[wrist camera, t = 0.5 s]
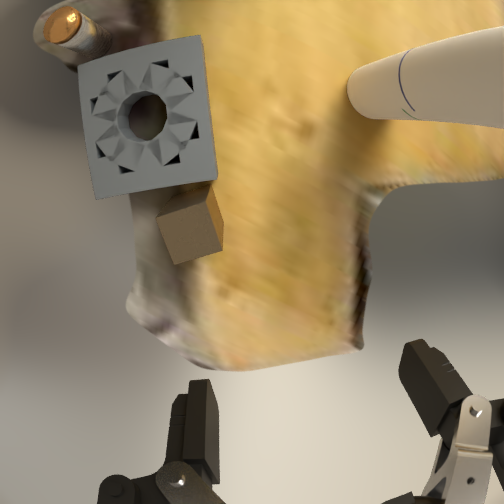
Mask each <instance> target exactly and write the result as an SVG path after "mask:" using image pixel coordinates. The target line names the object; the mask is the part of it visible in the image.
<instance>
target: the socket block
mask: <svg viewBox="0 0 504 504" xmlns="http://www.w3.org/2000/svg"><path fill="white" fill-rule="evenodd" d="M168 67H169V69H168ZM78 81H79V93H80V104H81V113H82V122H83V130H84V136H85V144H86V150H87V156H88V162H89V168H90V174H91V179H92V184H93V188H94V194H95V198H96V200H97V199H103V198H108V197H113V196H118V195H123V194H128V193H134V192H139V191H145V190H150V189H156V188H162V187H168V186H175V185H181V184H188V183H194V182H201V181H208V180H216V179H217V177H218V169H217V161H216V153H215V145H214V137H213V128H212V120H211V112H210V103H209V94H208V85H207V76H206V67H205V57H204V48H203V42H202V39H201V36H200V35H195V36H189V37H183V38H178V39H172V40H167V41H163V42H158V43H153V44H149V45H145V46H141V47H137V48H133V49H129V50H125V51H122V52H118V53H115V54H111V55H108V56H105V57H102V58H99V59H96V60H93V61H90V62H87V63H84V64H81V65H78ZM192 81H193V89H194V91H193V90H192V89H191V87H190V86H189V85H188V84H187V82H192ZM153 94H155V95H158V96H160V98H161V99H162V100H163V101H164V103H165V104H166V109H167V117H168V118H167V121H166V123H165V126H164V128H163V130H162V132H161V133H159V134H158V135H157V136H156V137H155V138H153V139H152V140H149V141H146V140H144V139H141V138H138V137H136V135H135V134H134V133H133V132H132V130H131V129H130V126H129V118H128V116H129V113H130V111H131V108H132V106H133V104H134V103H136V102H137V101H138V100H139V99H140V98H141V97H144V96H148V95H153ZM197 129H198V131H199V138H196V139H193V138H194V136H195V133H196V131H197ZM178 155H179V157H180V161H174V162H171V161H172V160H173V159H174V158H176V157H177V156H178Z"/></svg>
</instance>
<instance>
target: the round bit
mask: <svg viewBox="0 0 504 504" xmlns="http://www.w3.org/2000/svg"><path fill="white" fill-rule="evenodd" d="M43 33H44V37H45V39H46V40H47V41H49V42H52V43H54V44H57V45H60V46H62V47H65V48H67V49H70V50H72V51H75V52H77V53H79V54H82V55H84V56H87V57H89V58H99V57H101V56H103V55H104V54H105V53H106V52H107V51H108V50H109V48H110V46H111V43H112V37H111V34H110V33H109V32H108V31H106V30H105V29H103V28H102V27H101V26H99V25H98V24H96V23H95V22H93V21H92V20H91V19H89V18H88V17H86V16H85V15H83V14H82V13H80V12H79V11H77V10H76V9H74V8H73V7H69V6H66V7H62V8H60V9H58V10H56V11H55V12H54V13H53V14H52V15H51V16H50V17H49V18H48V20H47V21H46V23H45V26H44V31H43Z"/></svg>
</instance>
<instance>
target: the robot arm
mask: <svg viewBox="0 0 504 504" xmlns="http://www.w3.org/2000/svg"><path fill="white" fill-rule="evenodd" d="M399 378H400V380H401V383H402V384H403V386H404V388H405V390H406V392H407V393H408V395H409V397H410V399H411V401H412V403H413V404H414V406H415V408H416V410H417V412H418V414H419V416H420V417H421V419H422V421H423V423H424V425H425V427H426V429H427V431H428V433H429V435H430V437H433V436H435V435H437V434H440V435H441V437H442V438H441V440H440V443H439V447H438V451H437V455H436V459H435V462H434V466H433V469H432V472H431V476H430V478H429V481H428V482H427V484H426V486H425V488H424V490H423V492H422V495H421V496H413V494H412V492H409V493H407V494H404V495H401V496H399V497H396V498H393V499H390V500H388V501H385V502H384V503H382V504H484V502H485V498H486V494H487V489H488V484H489V478H490V473H491V467H492V466H493V468H494V470H495V472H496V475H497V477H498V479H499V481H500V484H501V486H502V488H503V491H504V399H498V400H492V401H488V400H487V399H486V398H485V397H483V396H480V395H473V394H472V392H471V391H470V390H469V388H468V387H467V385H466V384H465V382H464V381H463V379H462V378H461V377H460V375H459V374H458V373H457V371H456V370H454V367H453V366H452V364H451V363H450V362H449V360H448V359H447V357H446V356H445V355H444V353H442V352H441V351H439V350H438V349H436V348H435V347H433V348H430V347H429V346H428V344H427V343H426V342H425V340H423V339H418V340H415V341H412V342H408V343H406V344H405V346H404V349H403V354H402V357H401V361H400V365H399ZM212 484H220V470H219V410H218V404H217V401H216V398H215V395H214V392H213V389H212V385H211V382H210V380H209V379H202V380H191V381H190V382H189V390H188V394H179V395H178V396H177V398H176V399H175V401H174V403H173V404H172V410H171V418H170V427H169V433H168V441H167V450H166V458H165V462H164V464H163V466H162V467H161V468H160V469H159V470H158V471H157V472H155V473H154V474H152V475H149V476H145V477H141V478H136V479H131V480H130V479H129V478H127V477H125V476H123V475H111V476H109V477H107V478H106V479H104V480H103V482H102V483H101V485H100V488H99V494H98V502H97V504H226V503H225V502H224V501H223V500H222V499H221V498H220V497H219V496H218V495H217V494H216V493H215V492H214V491H213V490H212Z"/></svg>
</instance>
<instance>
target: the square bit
mask: <svg viewBox="0 0 504 504" xmlns="http://www.w3.org/2000/svg"><path fill="white" fill-rule="evenodd" d="M156 221H157V224H158V226H159V229H160V231H161V234H162V236H163V239H164V241H165V244H166V246H167V249H168V251H169V254H170V256H171V259H172V261H173V263H174V265H176V264H179V263H183V262H186V261H189V260H193V259H196V258H199V257H203V256H206V255H209V254H213V253H216V252H220V251H223V229H224V222H223V219H222V216H221V213H220V210H219V206H218V203H217V200H216V197H215V194H214V191H213V188H212V185H211V184H210V185H207V186H203V187H200V188H197V189H194V190H191V191H188V192H185V193H182V194H179V195H176V196H173V197H171V199H170V200H169V201H168V203H167V204H166V205H165V206H164V208H163V209H162V210H161V211H160V213H159V214H158V215H157V217H156Z"/></svg>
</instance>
